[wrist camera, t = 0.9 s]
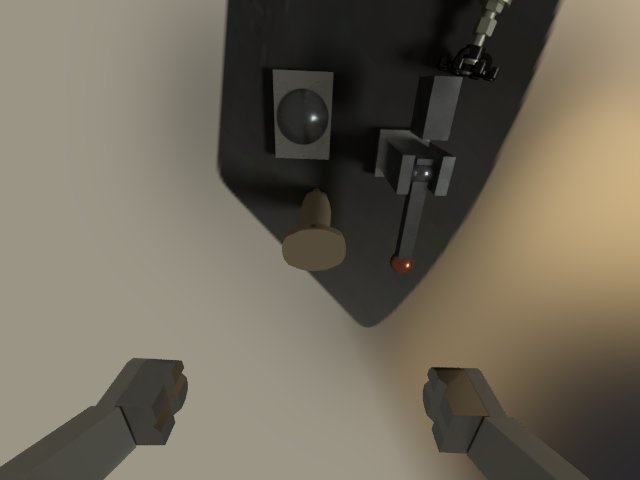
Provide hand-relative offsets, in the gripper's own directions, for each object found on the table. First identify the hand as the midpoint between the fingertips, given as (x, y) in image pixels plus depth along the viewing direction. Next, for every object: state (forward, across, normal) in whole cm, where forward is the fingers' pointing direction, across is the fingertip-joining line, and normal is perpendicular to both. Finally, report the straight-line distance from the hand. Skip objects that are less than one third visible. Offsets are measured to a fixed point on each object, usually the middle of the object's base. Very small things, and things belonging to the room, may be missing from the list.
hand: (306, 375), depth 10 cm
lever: (+27, -11, +1) cm, 29 cm away
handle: (+34, 0, +5) cm, 35 cm away
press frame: (+34, -4, -5) cm, 34 cm away
